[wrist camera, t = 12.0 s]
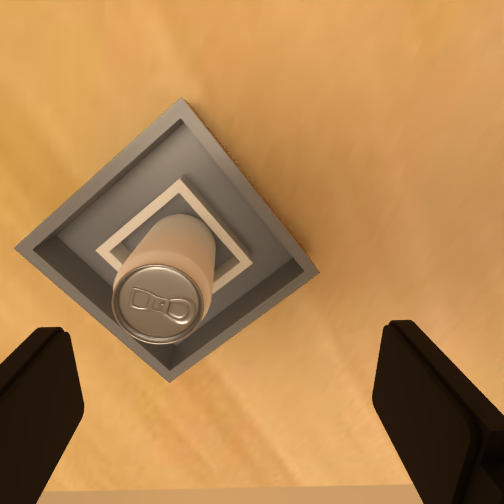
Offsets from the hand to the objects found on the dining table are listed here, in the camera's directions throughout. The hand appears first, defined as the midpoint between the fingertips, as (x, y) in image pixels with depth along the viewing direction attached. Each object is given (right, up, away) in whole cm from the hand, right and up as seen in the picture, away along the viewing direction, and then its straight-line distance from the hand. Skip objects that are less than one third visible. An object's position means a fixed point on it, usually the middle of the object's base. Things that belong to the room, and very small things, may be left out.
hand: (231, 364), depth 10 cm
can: (-6, +4, +22) cm, 23 cm away
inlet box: (-6, +4, +23) cm, 24 cm away
